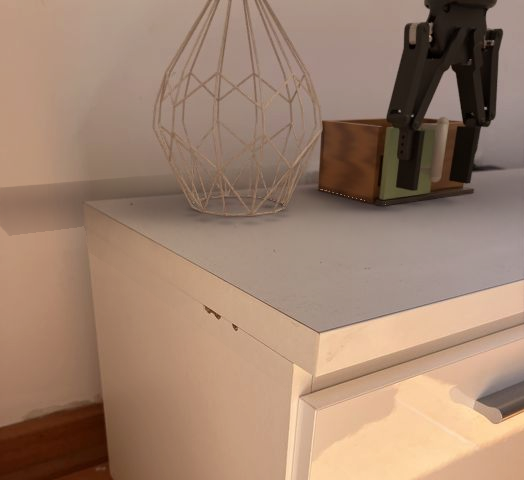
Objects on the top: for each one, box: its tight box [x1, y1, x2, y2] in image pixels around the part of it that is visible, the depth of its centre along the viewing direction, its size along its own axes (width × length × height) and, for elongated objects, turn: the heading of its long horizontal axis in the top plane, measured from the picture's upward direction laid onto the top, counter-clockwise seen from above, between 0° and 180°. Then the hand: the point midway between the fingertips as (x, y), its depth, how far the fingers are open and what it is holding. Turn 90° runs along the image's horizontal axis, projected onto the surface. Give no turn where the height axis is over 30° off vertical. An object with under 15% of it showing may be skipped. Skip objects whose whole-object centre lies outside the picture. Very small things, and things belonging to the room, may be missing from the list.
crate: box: [317, 117, 475, 207], centre depth 77 cm, size 12×18×9 cm
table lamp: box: [152, 0, 323, 217], centre depth 60 cm, size 22×22×40 cm
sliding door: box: [379, 116, 450, 200], centre depth 69 cm, size 4×8×10 cm, turn 124°
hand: (433, 185), depth 70 cm, fingers open, 9 cm apart
